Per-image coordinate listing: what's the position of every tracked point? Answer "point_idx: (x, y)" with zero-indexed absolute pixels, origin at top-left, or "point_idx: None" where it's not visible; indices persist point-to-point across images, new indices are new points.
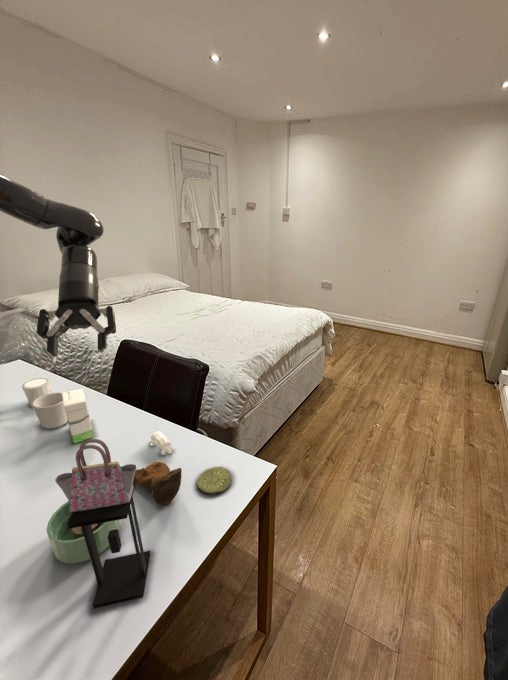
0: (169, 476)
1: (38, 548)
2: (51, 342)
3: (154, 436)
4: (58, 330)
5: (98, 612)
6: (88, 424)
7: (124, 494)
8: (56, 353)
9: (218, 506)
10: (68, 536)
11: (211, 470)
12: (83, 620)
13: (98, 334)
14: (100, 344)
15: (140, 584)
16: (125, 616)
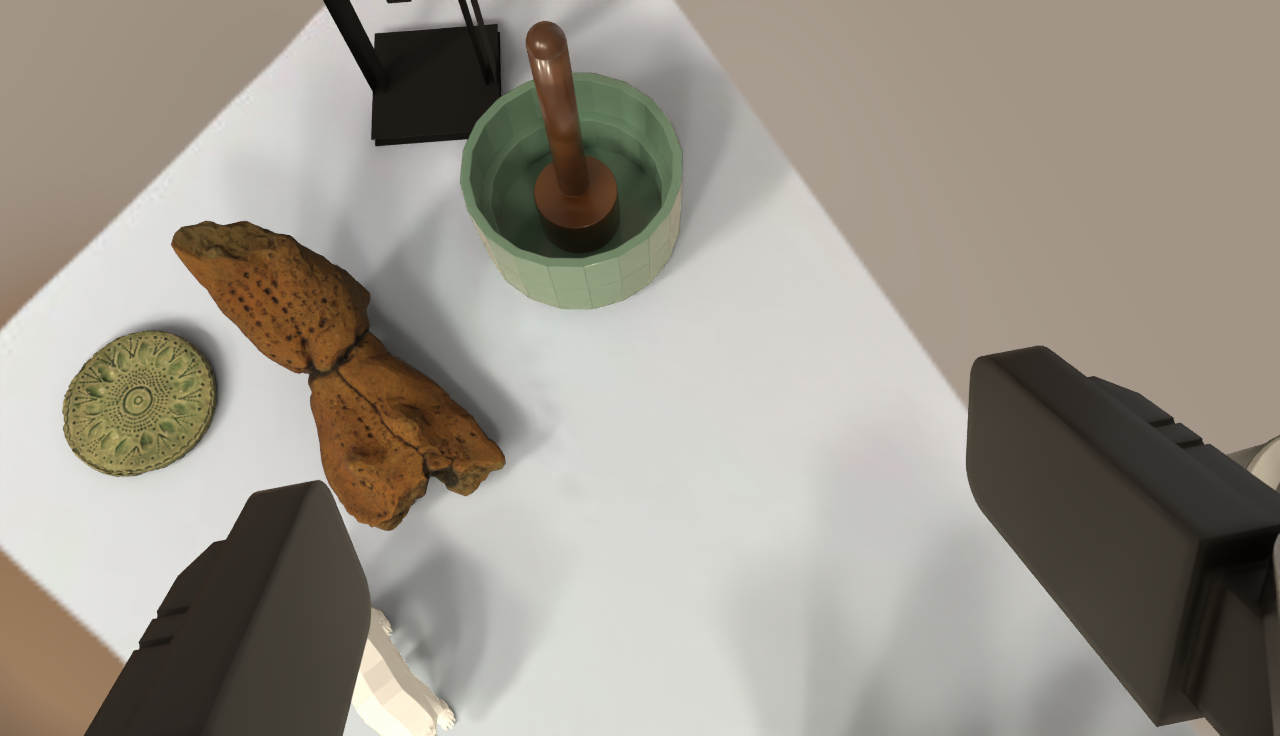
0: (233, 227)
1: (727, 204)
2: (1148, 441)
3: (389, 670)
4: (1278, 731)
5: None
6: None
7: None
8: (985, 465)
9: (148, 283)
10: (645, 219)
11: (143, 457)
12: (513, 13)
13: (191, 716)
14: (245, 531)
15: (384, 55)
16: (415, 9)
